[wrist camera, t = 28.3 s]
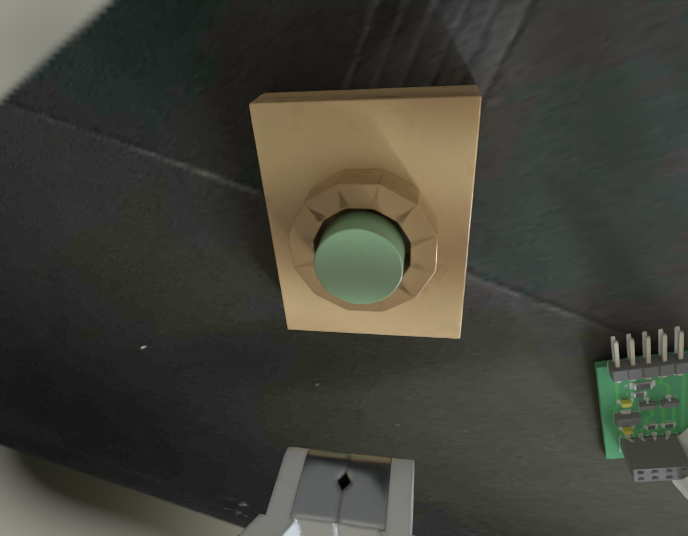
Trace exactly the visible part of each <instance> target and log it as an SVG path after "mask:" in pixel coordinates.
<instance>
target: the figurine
mask: <svg viewBox="0 0 688 536" xmlns="http://www.w3.org/2000/svg"><path fill="white" fill-rule="evenodd" d="M677 438H678V440H679V442H680V444H681V446H682V448H683V450H684V452H685V454H686V456H687V458H688V428H687V429H686V430H685V431H684V432H682V433H681V434H680V435H679V436H678V437H677ZM672 481H673V483H674V485H675V486H676V487H677V488H678V489H679V490H680V491H681V493H682V494H683V495H684V496H685V497H686V498H687V499H688V477H686V478H685V479H682V480H672Z"/></svg>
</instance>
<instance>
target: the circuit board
mask: <svg viewBox="0 0 688 536" xmlns="http://www.w3.org/2000/svg"><path fill="white" fill-rule="evenodd" d="M626 341H627V357H628V358H620V359H619V347H618V341H617V340H616V341H615V336H612V337H611V349H612V360H606V361H598V362H594V363H595V372H596V381H597V390H598V399H599V407H600V416H601V425H602V434H603V443H604V450H605V455H606V458H607V459H615V458H625V460H626V462H627V465H628V468H629V470H630V473H631V475H632V478H633V480H634V482H646V481H664V480H682V479H685V478H686V477H688V458H687V456H686V454H685V452H684V450H683V448H682V446H681V444H680V442H679V440H678V438H677V437H678V436H679V435H680V434H681V433H682V432H684V431H685V430H686V429H687V428H688V350H684V333H683V331H680V327H679V326H677V327H675V347H674V351H673V352H667V335H666V333H664V334H663V329H659V330H658V354H651V341H650V337H649V336H647V332H646V331H644V332H642V346H643V356H635V347H634V339H633V338H631V334H627V335H626Z"/></svg>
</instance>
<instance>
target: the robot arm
mask: <svg viewBox="0 0 688 536" xmlns="http://www.w3.org/2000/svg"><path fill="white" fill-rule="evenodd" d="M413 492H414V460H408V459H397V458H392V457H382V456H371V455H360V454H346V453H337V452H329V451H320V450H311V449H306V448H296V447H288V449H287V451H286V453H285V455H284V458H283V461H282V464H281V467H280V471H279V474H278V477H277V480H276V483H275V487H274V490H273V493H272V496H271V500H270V503H269V506H268V509H267V512H266V515H263V514H259V515H258V516H257V517H256V518H255V519H254V520H253V521H252V522H251V523H250V524H249V525H248V526H247V527H246V528H245V529H244V530H243V531H242V532H241V533H240V534H239V535H238V536H415V535H412V520H413Z"/></svg>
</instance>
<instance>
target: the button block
mask: <svg viewBox="0 0 688 536" xmlns="http://www.w3.org/2000/svg"><path fill="white" fill-rule="evenodd" d="M481 100H482V96H481V94H480V91H479V89H478V86H477V85H459V86H433V87H407V88H382V89H356V90H330V91H305V92H279V93H264V94H262V95H261V96H259V97H258V98H256V99H255V100H254V101H252V102H251V103H249V108H250V114H251V120H252V125H253V131H254V137H255V143H256V148H257V154H258V160H259V166H260V171H261V177H262V183H263V189H264V194H265V200H266V206H267V212H268V218H269V223H270V229H271V235H272V241H273V246H274V252H275V258H276V264H277V269H278V275H279V281H280V287H281V292H282V298H283V304H284V310H285V315H286V321H287V327H288V329H293V330H311V331H329V332H348V333H366V334H384V335H403V336H421V337H439V338H458V339H459V338H460V334H461V323H462V312H463V301H464V290H465V279H466V268H467V256H468V245H469V234H470V223H471V212H472V201H473V189H474V178H475V167H476V156H477V145H478V134H479V123H480V111H481ZM354 211H367V212H372V213H375V214H378V215H380V216H382V217H384V218H386V219H387V220H389V221H390V222H391V223H392V224H393V225H394V226H395V227H396V228H397V229H398V230H399V232H400V234H401V235H402V238H403V240H404V244H405V258H404V268H403V276H402V279H401V282H400V284H399V286H398V287H397V288H396V290H395V291H394V292H393V293H392V294H391V295H389V296H388V297H386V298H385V299H383V300H381V301H378V302H374V303H369V304H355V303H350V302H346V301H343V300H341V299H339V298H337V297H335V296H334V295H332V294H331V293H329V292H328V291H327V290H326V289H325V288H324V287H323V286H322V284H321V283H320V281H319V279H318V277H317V275H316V272H315V268H314V256H315V253H316V250H317V248H318V245H319V243H320V240H321V238H322V236H323V233H324V231H325V229H326V228H327V226H328V225H329V224H330V223H331V222H332V221H333V220H334V219H336V218H337V217H339V216H341V215H343V214H346V213H349V212H354Z"/></svg>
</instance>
